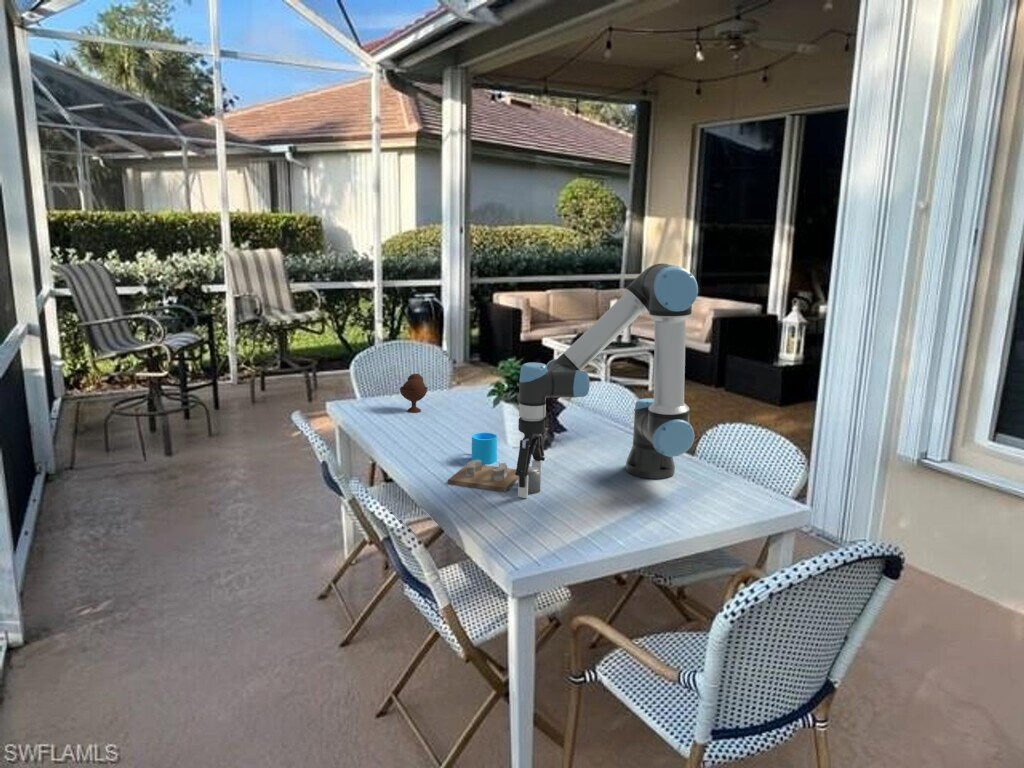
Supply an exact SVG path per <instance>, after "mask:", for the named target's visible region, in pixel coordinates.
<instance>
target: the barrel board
mask: <svg viewBox="0 0 1024 768" xmlns="http://www.w3.org/2000/svg"><path fill="white" fill-rule="evenodd" d="M516 469H517V468H509V467H508V465H507V463H505V462H503V463H502V462H499V463H498V466H495V465H494V466H493V465H488V464H486V465H484V464H482V461H480V460H478V459H477V460H473V461H472V460H470V461H468V462H467V463H466V464H465V465H464V466H463V467H462V468H460V469H459V470H457V472H456V473H454V474H453V475H452V476H451V477H449V478H448V479H447V484H450V485H457V486H463V487H470V488H477V489H485V490H490V491H498V492H503V493H504V492H505V493H507V491H509V490H510V488H511V487H513V485H514V484H515V483H516V482H518V476H517V475H515V472H516Z"/></svg>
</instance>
